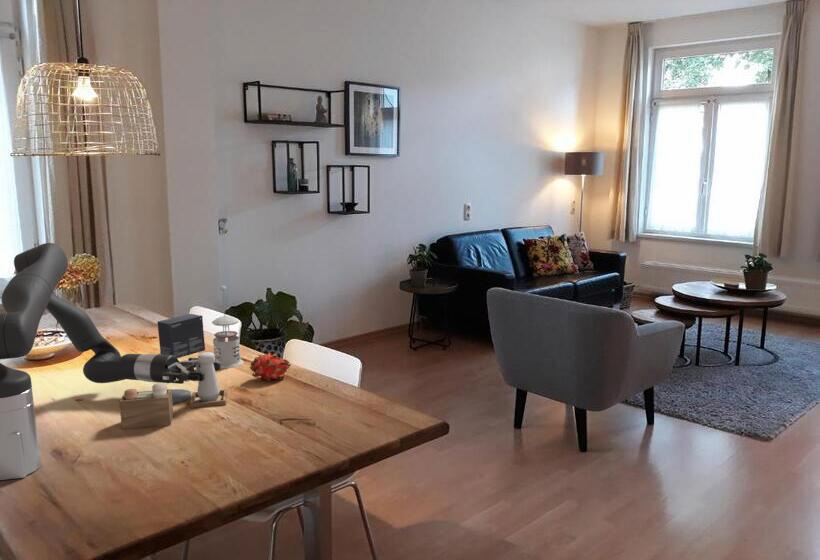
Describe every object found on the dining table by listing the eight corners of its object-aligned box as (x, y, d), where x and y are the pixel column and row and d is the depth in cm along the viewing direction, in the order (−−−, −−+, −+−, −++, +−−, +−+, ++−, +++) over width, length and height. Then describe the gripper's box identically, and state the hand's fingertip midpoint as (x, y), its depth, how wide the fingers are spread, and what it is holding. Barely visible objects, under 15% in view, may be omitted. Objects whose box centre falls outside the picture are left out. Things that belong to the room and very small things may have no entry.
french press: (211, 369, 201) (205, 289, 196) (212, 358, 212) (206, 282, 207) (244, 366, 203) (239, 287, 199) (243, 356, 214) (239, 281, 210)
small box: (193, 346, 226) (190, 312, 224) (205, 349, 222) (203, 315, 220) (159, 356, 215) (156, 320, 213) (172, 359, 211) (169, 323, 209)
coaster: (189, 402, 173) (189, 400, 173) (149, 406, 171) (149, 403, 171) (192, 389, 183) (192, 387, 183) (154, 393, 181) (154, 390, 181)
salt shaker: (213, 404, 172) (210, 357, 169) (193, 403, 173) (190, 356, 170) (224, 397, 177) (221, 350, 175) (204, 395, 178) (201, 349, 176)
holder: (225, 404, 172) (225, 401, 172) (189, 407, 170) (189, 404, 170) (227, 393, 180) (227, 389, 180) (193, 395, 178) (192, 392, 178)
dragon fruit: (247, 386, 190) (288, 386, 195) (252, 376, 184) (294, 377, 188) (246, 358, 194) (287, 359, 199) (252, 348, 187) (293, 349, 192)
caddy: (170, 424, 159) (167, 388, 157) (122, 429, 156) (118, 392, 155) (173, 415, 165) (170, 380, 163) (126, 419, 162) (123, 384, 161)
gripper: (139, 362, 169) (197, 366, 166) (170, 347, 183) (223, 350, 180) (142, 390, 171) (199, 394, 167) (172, 373, 184) (225, 376, 181)
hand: (211, 371), depth 173 cm, fingers open, 8 cm apart
